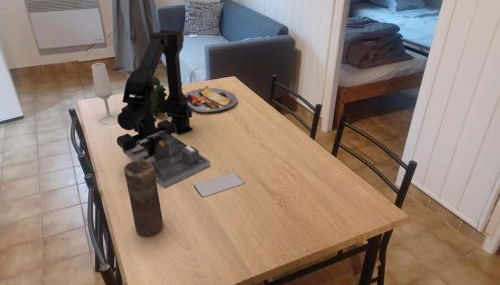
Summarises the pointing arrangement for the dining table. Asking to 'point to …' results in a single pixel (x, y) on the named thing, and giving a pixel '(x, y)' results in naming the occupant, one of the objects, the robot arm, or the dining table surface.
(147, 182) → the candle
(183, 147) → the panel
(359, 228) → the dining table surface
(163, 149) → the breaker mid
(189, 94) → the food plate
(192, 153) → the breaker
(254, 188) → the dining table surface
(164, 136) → the block
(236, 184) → the smartphone
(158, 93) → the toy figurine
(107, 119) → the champagne flute
